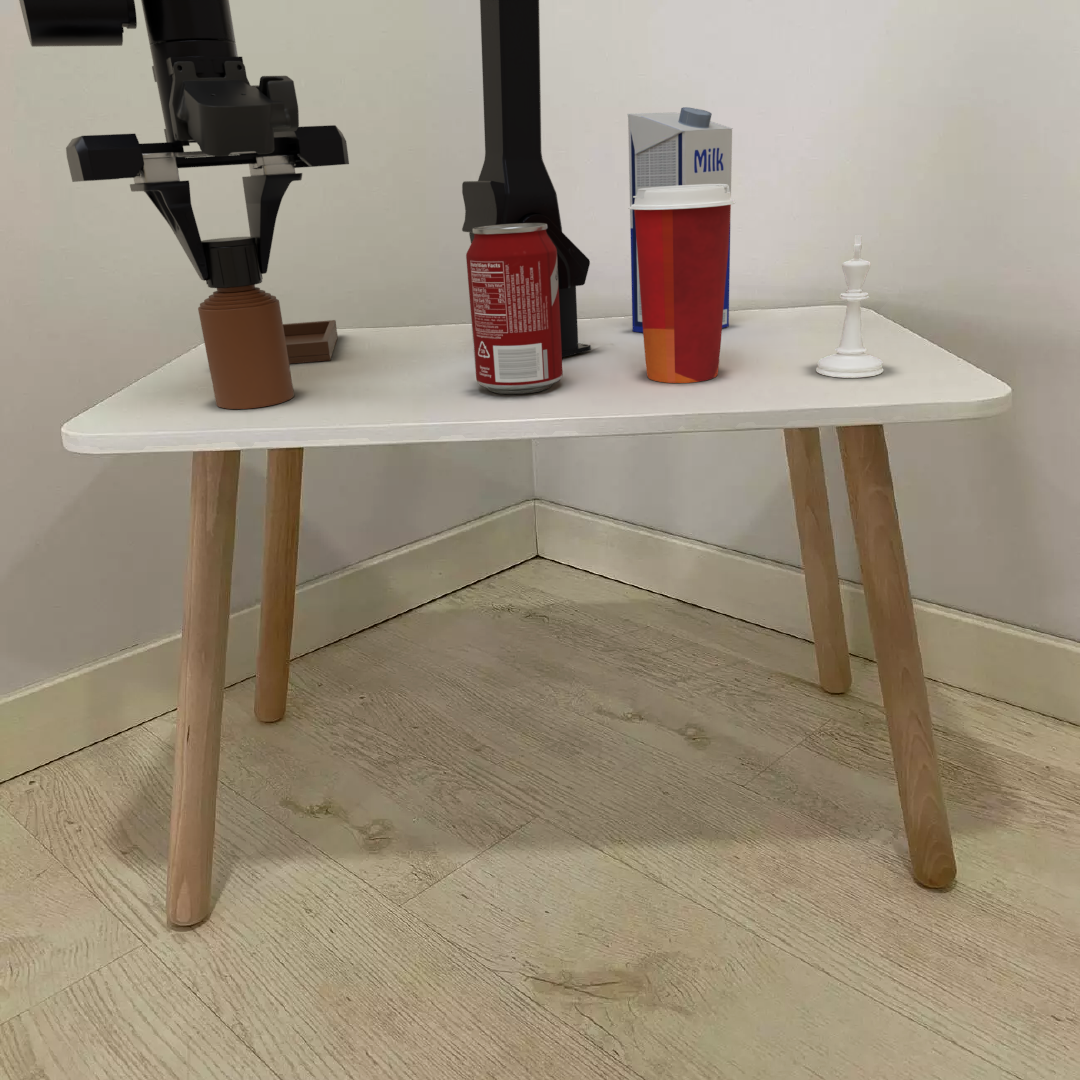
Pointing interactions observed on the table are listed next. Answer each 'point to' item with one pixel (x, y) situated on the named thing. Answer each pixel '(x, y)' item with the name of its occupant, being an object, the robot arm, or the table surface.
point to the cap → (232, 262)
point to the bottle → (246, 348)
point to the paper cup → (682, 278)
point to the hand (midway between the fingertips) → (234, 276)
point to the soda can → (515, 308)
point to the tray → (310, 341)
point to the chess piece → (852, 327)
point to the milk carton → (675, 169)
